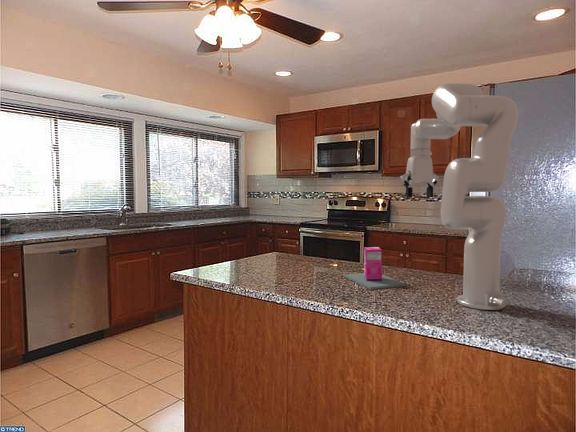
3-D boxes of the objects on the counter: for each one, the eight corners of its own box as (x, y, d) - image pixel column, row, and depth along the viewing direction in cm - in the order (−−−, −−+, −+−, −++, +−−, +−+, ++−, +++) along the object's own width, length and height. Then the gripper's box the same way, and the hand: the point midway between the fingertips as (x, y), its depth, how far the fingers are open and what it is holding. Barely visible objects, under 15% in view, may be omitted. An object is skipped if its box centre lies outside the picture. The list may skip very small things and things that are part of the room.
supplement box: (363, 277, 144) (363, 246, 143) (379, 277, 143) (380, 247, 142) (365, 280, 138) (366, 249, 137) (382, 281, 138) (382, 249, 137)
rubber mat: (405, 285, 134) (405, 283, 134) (370, 289, 129) (370, 287, 129) (375, 273, 153) (375, 271, 153) (343, 276, 148) (343, 274, 148)
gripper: (432, 155, 158) (431, 196, 160) (396, 154, 153) (395, 197, 154) (444, 154, 151) (443, 197, 152) (407, 153, 146) (406, 197, 147)
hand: (419, 197), depth 153 cm, fingers open, 9 cm apart
